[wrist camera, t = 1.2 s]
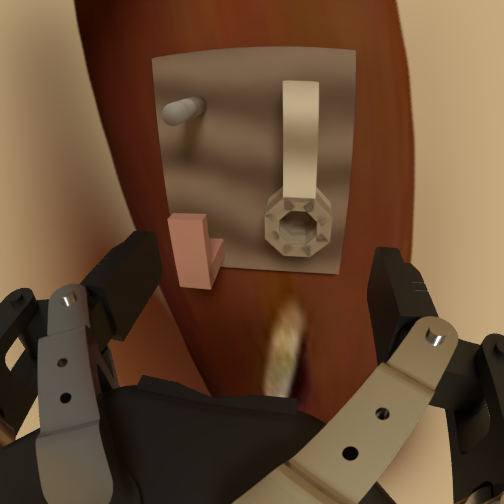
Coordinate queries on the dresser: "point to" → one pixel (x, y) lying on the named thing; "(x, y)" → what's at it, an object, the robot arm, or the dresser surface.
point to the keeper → (195, 250)
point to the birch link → (299, 177)
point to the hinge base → (252, 144)
